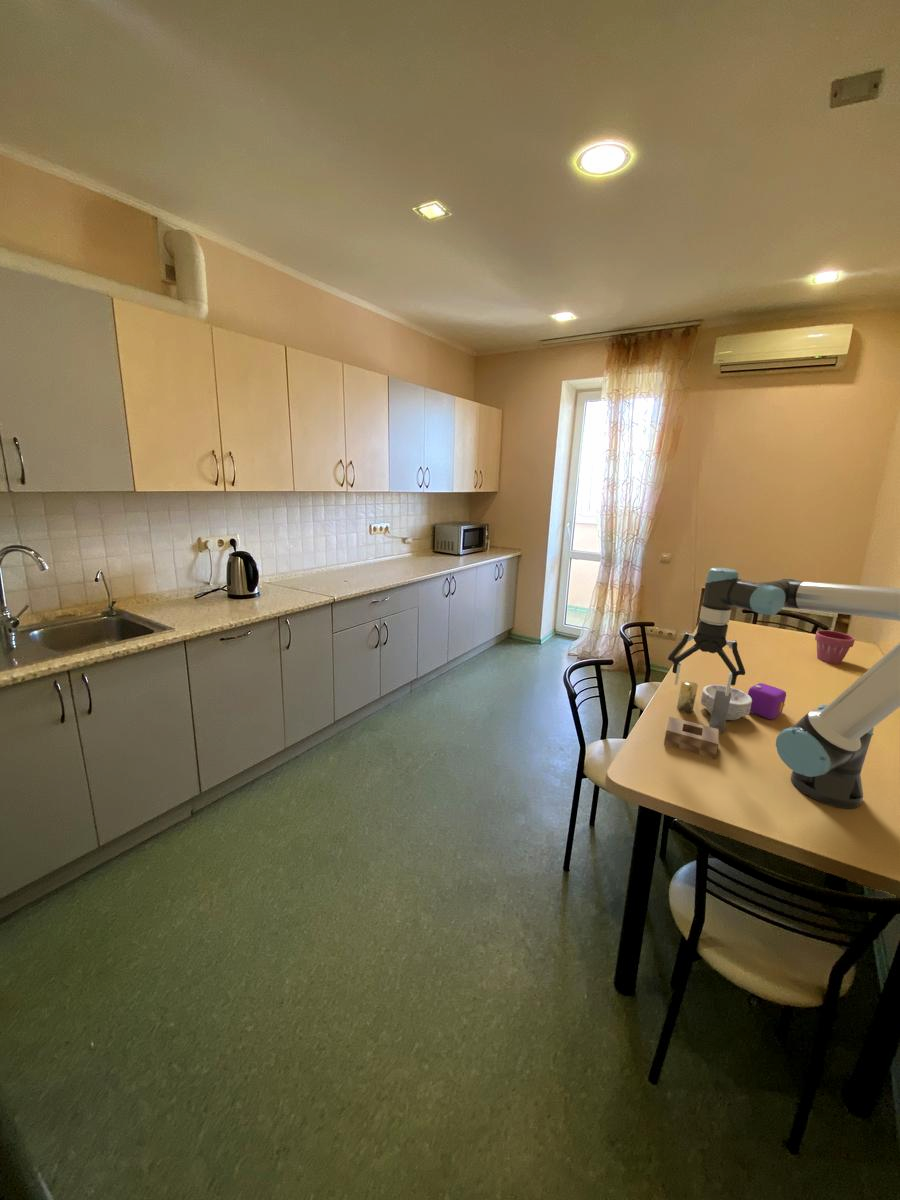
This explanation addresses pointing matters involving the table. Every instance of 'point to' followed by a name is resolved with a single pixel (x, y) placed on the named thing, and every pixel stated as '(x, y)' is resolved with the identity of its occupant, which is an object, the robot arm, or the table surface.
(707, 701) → the paper bowls
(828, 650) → the plant pot
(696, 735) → the bore block
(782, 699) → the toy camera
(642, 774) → the table surface
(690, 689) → the cylinder
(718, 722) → the square bit
